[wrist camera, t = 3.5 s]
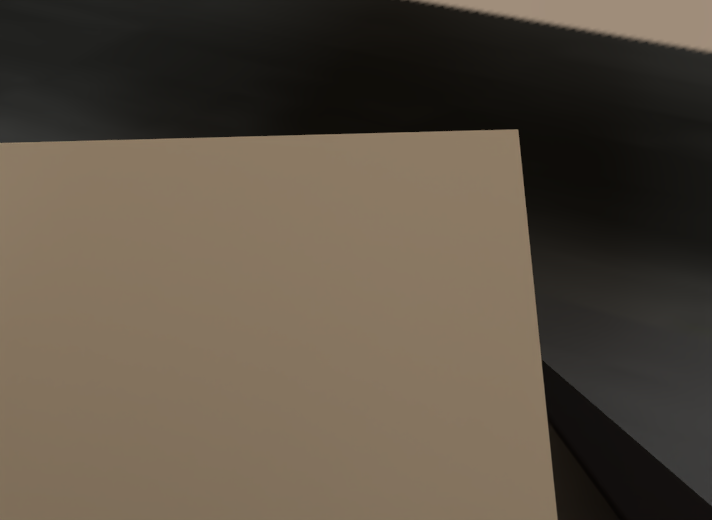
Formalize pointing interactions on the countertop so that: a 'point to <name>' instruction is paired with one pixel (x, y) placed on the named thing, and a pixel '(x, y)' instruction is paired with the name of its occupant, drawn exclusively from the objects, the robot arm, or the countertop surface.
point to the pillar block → (270, 330)
